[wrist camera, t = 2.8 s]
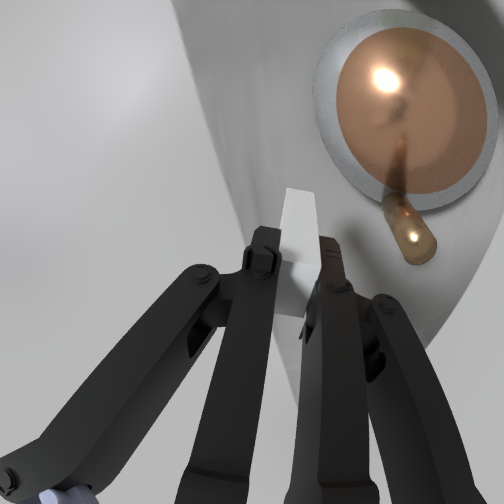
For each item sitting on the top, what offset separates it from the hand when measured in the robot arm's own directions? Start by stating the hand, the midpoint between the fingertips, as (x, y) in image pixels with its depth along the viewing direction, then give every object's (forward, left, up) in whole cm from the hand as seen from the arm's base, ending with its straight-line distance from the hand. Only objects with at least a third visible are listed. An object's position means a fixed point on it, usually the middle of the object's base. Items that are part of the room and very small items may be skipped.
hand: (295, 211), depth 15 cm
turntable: (-7, +8, -7) cm, 13 cm away
